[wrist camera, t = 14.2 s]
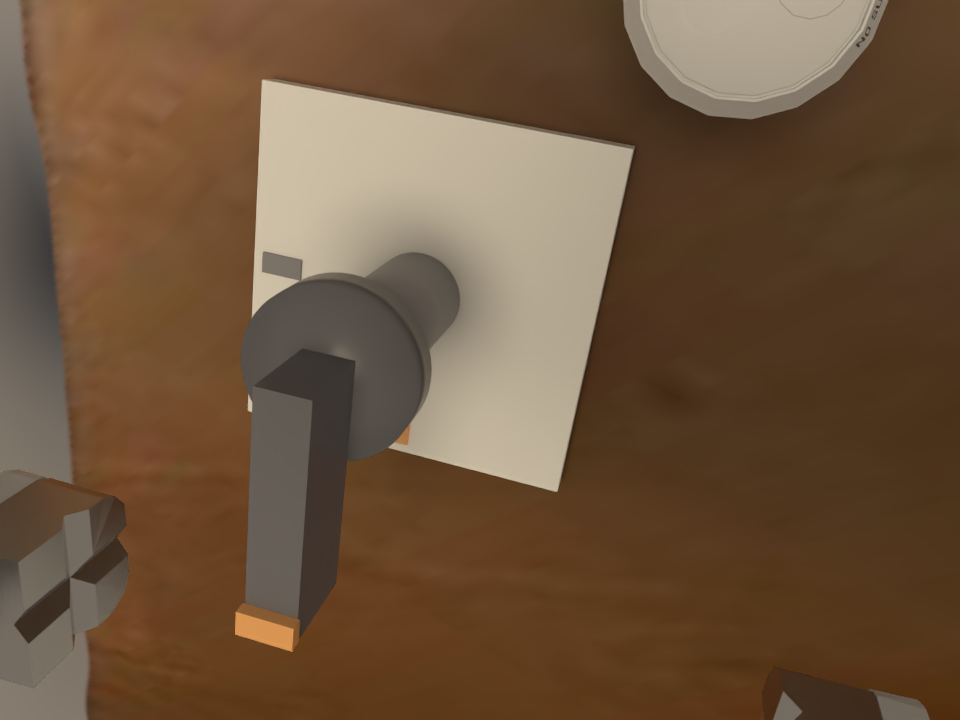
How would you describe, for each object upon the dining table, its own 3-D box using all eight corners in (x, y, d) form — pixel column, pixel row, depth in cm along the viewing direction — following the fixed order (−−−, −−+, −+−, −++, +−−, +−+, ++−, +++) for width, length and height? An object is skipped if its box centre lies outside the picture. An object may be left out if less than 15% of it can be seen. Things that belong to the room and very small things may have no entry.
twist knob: (266, 255, 35) (175, 299, 29) (442, 293, 33) (386, 347, 27) (255, 532, 40) (177, 618, 34) (405, 574, 39) (352, 672, 33)
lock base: (635, 145, 41) (616, 177, 30) (560, 479, 49) (525, 596, 38) (275, 78, 44) (147, 86, 34) (259, 401, 52) (151, 489, 41)
